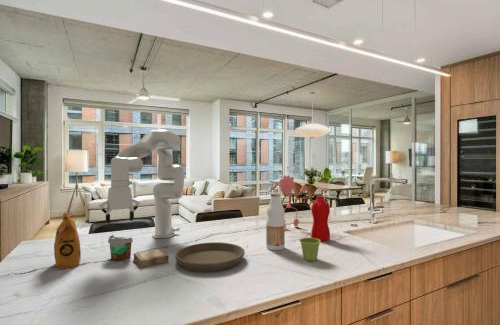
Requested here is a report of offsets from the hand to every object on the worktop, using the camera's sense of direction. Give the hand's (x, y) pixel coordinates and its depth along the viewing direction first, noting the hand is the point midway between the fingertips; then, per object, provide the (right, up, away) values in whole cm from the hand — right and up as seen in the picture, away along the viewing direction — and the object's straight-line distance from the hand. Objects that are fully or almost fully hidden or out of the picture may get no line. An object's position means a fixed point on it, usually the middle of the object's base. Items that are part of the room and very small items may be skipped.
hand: (120, 221), depth 133 cm
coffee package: (-20, -18, -7) cm, 27 cm away
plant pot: (+87, -18, 0) cm, 89 cm away
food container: (-1, -18, 0) cm, 18 cm away
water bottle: (+100, -17, +31) cm, 106 cm away
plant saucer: (+42, -18, -2) cm, 45 cm away
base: (+15, -17, -2) cm, 23 cm away
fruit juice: (+73, -17, +17) cm, 77 cm away
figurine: (+85, -17, +62) cm, 106 cm away
